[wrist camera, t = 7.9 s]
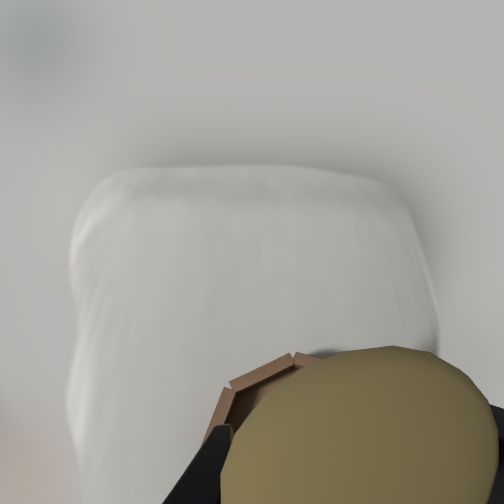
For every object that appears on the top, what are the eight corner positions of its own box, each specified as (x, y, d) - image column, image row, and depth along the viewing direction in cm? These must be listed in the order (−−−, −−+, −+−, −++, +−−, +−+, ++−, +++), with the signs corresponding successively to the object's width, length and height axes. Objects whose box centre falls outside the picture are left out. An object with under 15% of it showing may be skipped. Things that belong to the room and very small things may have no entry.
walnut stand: (400, 458, 12) (417, 460, 10) (257, 536, 10) (257, 549, 8) (328, 335, 16) (336, 324, 14) (184, 404, 14) (174, 401, 12)
